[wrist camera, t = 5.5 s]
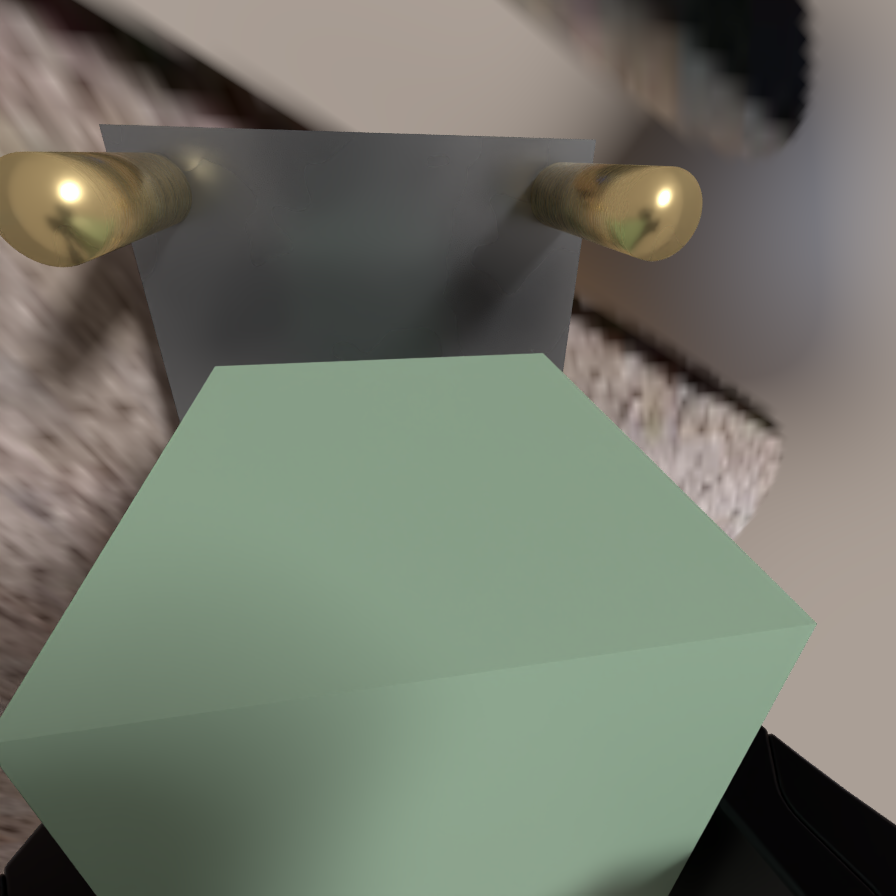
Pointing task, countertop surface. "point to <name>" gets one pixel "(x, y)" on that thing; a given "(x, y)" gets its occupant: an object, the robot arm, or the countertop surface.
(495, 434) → the light green block
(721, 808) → the robot arm
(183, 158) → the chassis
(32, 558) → the countertop surface
